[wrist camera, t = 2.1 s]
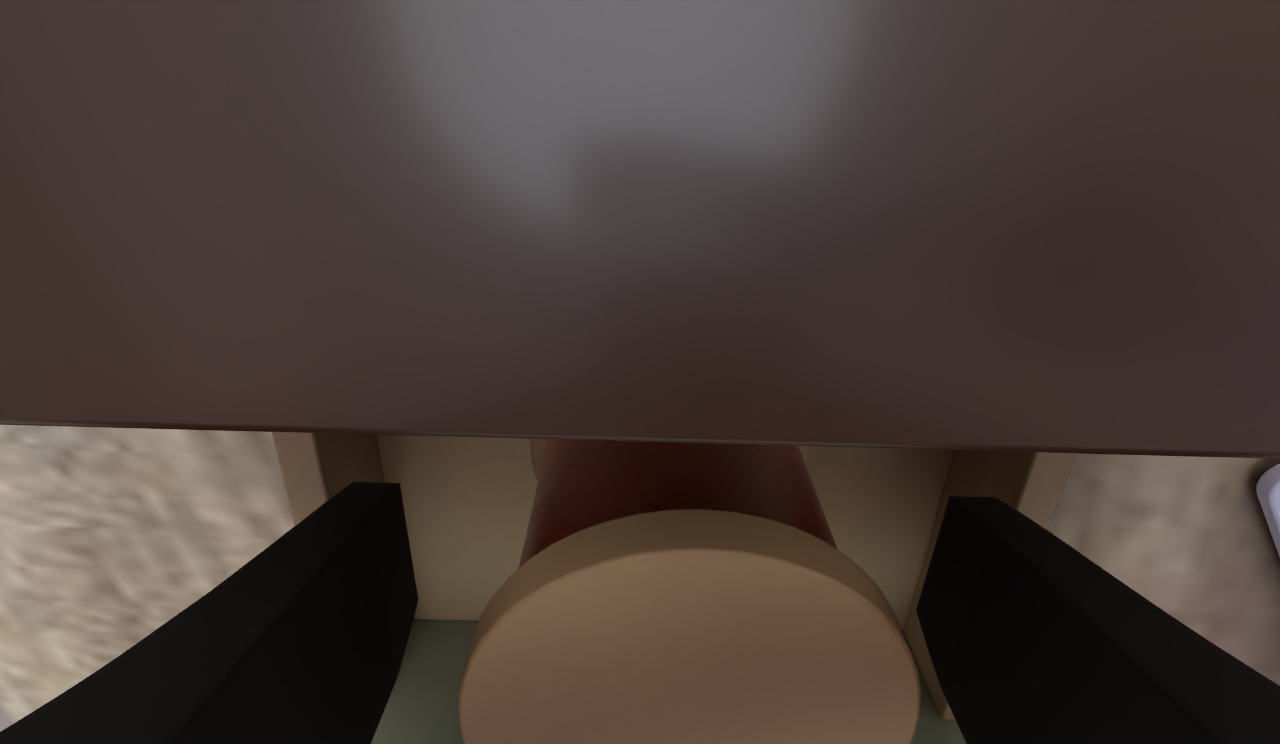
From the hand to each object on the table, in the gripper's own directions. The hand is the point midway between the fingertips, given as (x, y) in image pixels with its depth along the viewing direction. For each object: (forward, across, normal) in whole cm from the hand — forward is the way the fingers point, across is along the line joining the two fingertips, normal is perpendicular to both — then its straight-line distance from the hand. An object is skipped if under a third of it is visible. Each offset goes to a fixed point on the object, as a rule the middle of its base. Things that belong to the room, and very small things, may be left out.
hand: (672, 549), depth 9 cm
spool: (+3, 0, 0) cm, 3 cm away
